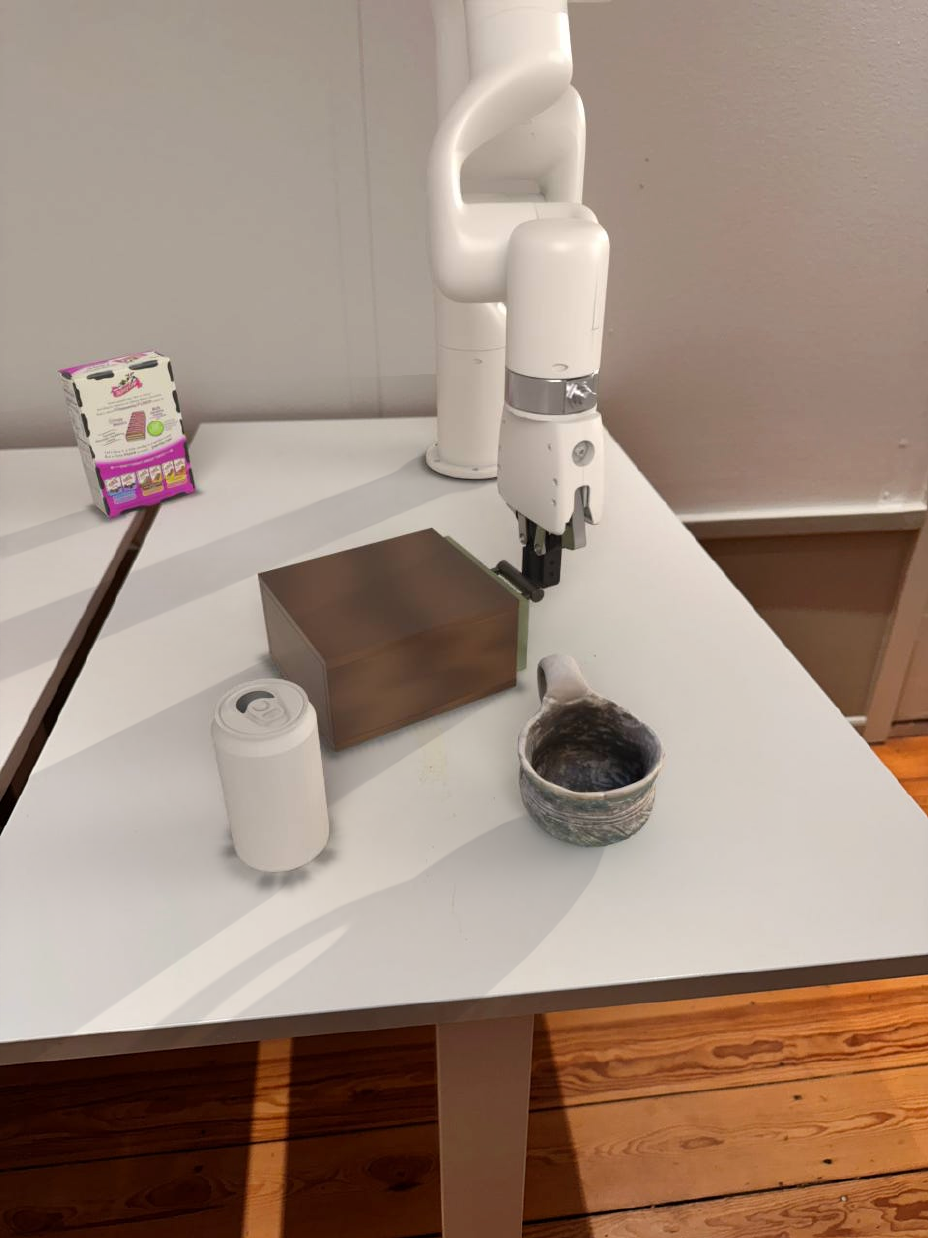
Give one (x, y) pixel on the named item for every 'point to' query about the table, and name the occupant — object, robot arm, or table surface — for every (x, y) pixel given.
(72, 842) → the table surface
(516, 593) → the drawer
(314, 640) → the cabinet
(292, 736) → the beverage can
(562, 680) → the mug
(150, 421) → the candy bar box
